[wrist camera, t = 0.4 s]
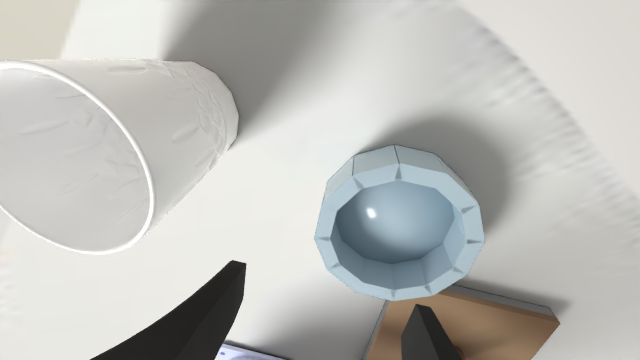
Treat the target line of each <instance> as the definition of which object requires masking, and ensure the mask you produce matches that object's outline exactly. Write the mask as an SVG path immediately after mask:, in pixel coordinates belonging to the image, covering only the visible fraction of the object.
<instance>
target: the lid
mask: <svg viewBox="0 0 640 360" xmlns="http://www.w3.org/2000/svg"><path fill="white" fill-rule="evenodd" d="M415 304H420V305H424V306H429V307H431V308H432V310H433V312H434V313H435V315H436V317H437V318H438V320H439V322H440V323H441V325H442V327H443V329H444V330H445V332H446V334H447V335H448V337H449V339H450V340H451V342H452V344H453V345H454V347H455V348H456V350H457V352H458V353H459V355H460V356H461V358H462V359H463V360H531V359H532V358H533V356H534V355H535V354H536V353H537V351H538V350H539V349H540V348H541V347H542V345H543V344H544V343H545V342H546V341H547V339H548V338H549V337H550V336H551V334H552V333H553V332H554V331H555V330H556V328H557V327H558V326H559V325H560V322H559V321H558V319H557V318H556V317H555V316H551V315H547V314H542V313H538V312H534V311H530V310H526V309H522V308H518V307H514V306H510V305H505V304H501V303H497V302H493V301H489V300H485V299H481V298H477V297H472V296H468V295H464V294H460V293H456V292H452V291H448V290H444V289H443V290H442V291H440V292H438V293H437V294H435V295H432V296H427V297H420V298H413V299H406V300H399V301H394V300H393V301H389V304H388V306H387V309H386V311H385V313H384V316H383V318H382V321H381V323H380V325H379V328H378V330H377V332H376V335H375V337H374V340H373V342H372V344H371V347H370V349H369V352H368V354H367V356H366V359H365V360H402V354H401V335H402V333H403V331H404V329H405V326H406V324H407V322H408V320H409V318H410V315H411V313H412V311H413V309H414V307H415Z"/></svg>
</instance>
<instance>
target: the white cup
mask: <svg viewBox="0 0 640 360" xmlns="http://www.w3.org/2000/svg"><path fill="white" fill-rule="evenodd" d="M238 120H239V114H238V111H237V108H236V105H235V102H234V99H233V96H232V93H231V92H230V91H229V89H228V88H227V87H226V86H225V84H224V83H223V82H222V81H221V80H220V78H219V77H218V76H217V75H216V74H215V73H214V72H212V71H210V70H208V69H206V68H204V67H202V66H200V65H199V64H197V63H195V62H192V61H159V60H157V59H136V58H124V59H49V60H48V59H44V60H0V208H1V209H2V210H3V211H4V212H5V213H6V214H8V215H9V216H10V217H11V218H12V219H13V220H15V221H16V222H17V223H18V224H20V225H21V226H23V227H24V228H25V229H27V230H28V231H30V232H31V233H33V234H35V235H36V236H38V237H40V238H42V239H44V240H46V241H48V242H50V243H52V244H54V245H57V246H59V247H62V248H65V249H68V250H71V251H75V252H80V253H85V254H97V255H102V254H112V253H117V252H120V251H123V250H126V249H128V248H130V247H132V246H133V245H135V244H136V243H138V242H139V241H140V240H141V239H142V238H143V237H144V236H145V235H146V234H147V233H148V232H149V231H150V230H151V229H152V228H153V227H154V226H155V225H156V224H157V223H158V222H159V221H160V220H161V219H162V218H163V217H164V216H165V215H166V214H167V213H168V212H169V211H170V210H171V209H172V208H173V207H174V206H175V205H176V204H177V203H178V202H179V201H181V200H182V199H183V198H184V197H185V196H186V195H187V194H188V193H189V192H190V191H191V190H192V189H193V188H194V187H195V185H196V184H197V183H198V182H199V181H200V180H201V179H202V178H203V177H204V176H205V175H206V174H207V173H208V172H209V171H210V170H211V169H212V167H213V166H214V165H215V164H216V163H217V161H218V160H219V159H220V158H221V157H222V156H223V155H224V154H225V153H226V151H227V150H228V149H229V147H230V146H231V144H232V143H233V142H234V140H235V139H236V137H237V129H238Z"/></svg>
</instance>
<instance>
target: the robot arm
mask: <svg viewBox="0 0 640 360" xmlns="http://www.w3.org/2000/svg"><path fill="white" fill-rule="evenodd" d="M245 273H246V263H242V262H238V261H234V260H232V261H230V262H229V263H228V264H227V265H226V266H225V267H224V268H223V269H222V270H221V271H219V272H218V273H217V274H216V275H215V276H214V277H213V278H212V279H211V280H209V281H208V282H207V283H206V284H205V285H204V286H202V287H201V288H200V289H199V290H198V291H196V292H195V293H194V294H193V295H192V296H190V297H189V298H188V299H186V300H185V301H184V302H183V303H181V304H180V305H179V306H177V307H176V308H175V309H173V310H172V311H171V312H169V313H168V314H166V315H165V316H164V317H162V318H161V319H159V320H158V321H156V322H155V323H153V324H152V325H150V326H149V327H147V328H145V329H144V330H142V331H141V332H139V333H137V334H136V335H134V336H132V337H131V338H129V339H127V340H126V341H124V342H122V343H120V344H119V345H117V346H115V347H113V348H111V349H109V350H107V351H106V352H104V353H102V354H100V355H98V356H96V357H94V358H92V359H90V360H214V359H215V357H216V355H217V354H218V360H285V359H281V358H277V357H273V356H269V355H265V354H261V353H258V352H254V351H250V350H246V349H242V348H238V347H234V346H230V345H226V344H223V342H224V340H225V338H226V336H227V334H228V332H229V331H230V329H231V327H232V325H233V323H234V320H235V318H236V315H237V313H238V310H239V308H240V305H241V303H242V300H243V295H244V284H245ZM401 354H402V360H463V359H462V358H461V356H460V355H459V353H458V352H457V350H456V348H455V347H454V345H453V344H452V342H451V340H450V339H449V337H448V335H447V334H446V332H445V330H444V329H443V327H442V325H441V323H440V322H439V320H438V318H437V317H436V315H435V313H434V312H433V310H432V308H431V307H429V306H424V305H420V304H415V307H414V309H413V311H412V313H411V315H410V318H409V320H408V322H407V324H406V326H405V329H404V331H403V333H402V335H401Z"/></svg>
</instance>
